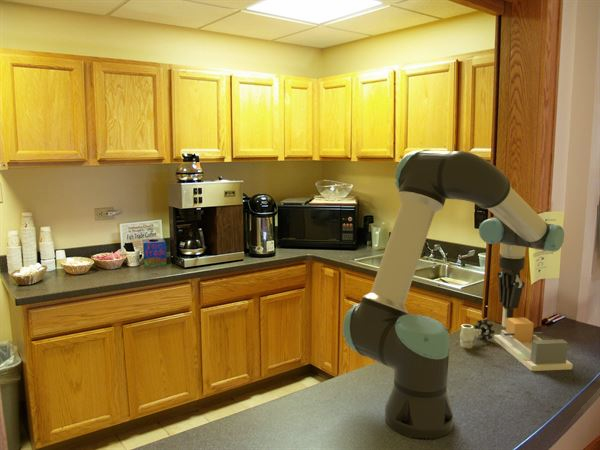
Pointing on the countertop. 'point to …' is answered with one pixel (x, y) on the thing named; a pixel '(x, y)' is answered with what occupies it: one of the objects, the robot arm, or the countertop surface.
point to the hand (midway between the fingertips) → (506, 326)
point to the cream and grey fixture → (537, 352)
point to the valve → (474, 333)
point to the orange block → (520, 329)
